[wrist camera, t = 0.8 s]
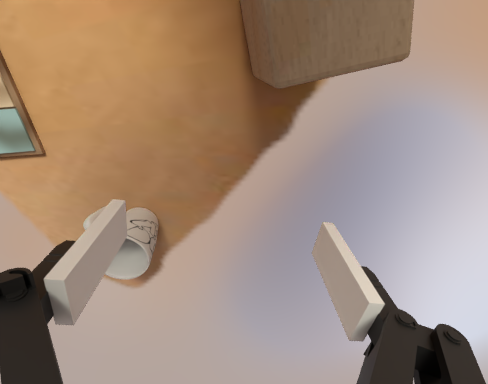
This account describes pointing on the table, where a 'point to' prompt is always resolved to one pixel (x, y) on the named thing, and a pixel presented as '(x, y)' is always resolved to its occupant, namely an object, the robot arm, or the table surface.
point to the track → (15, 120)
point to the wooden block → (324, 37)
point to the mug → (133, 243)
